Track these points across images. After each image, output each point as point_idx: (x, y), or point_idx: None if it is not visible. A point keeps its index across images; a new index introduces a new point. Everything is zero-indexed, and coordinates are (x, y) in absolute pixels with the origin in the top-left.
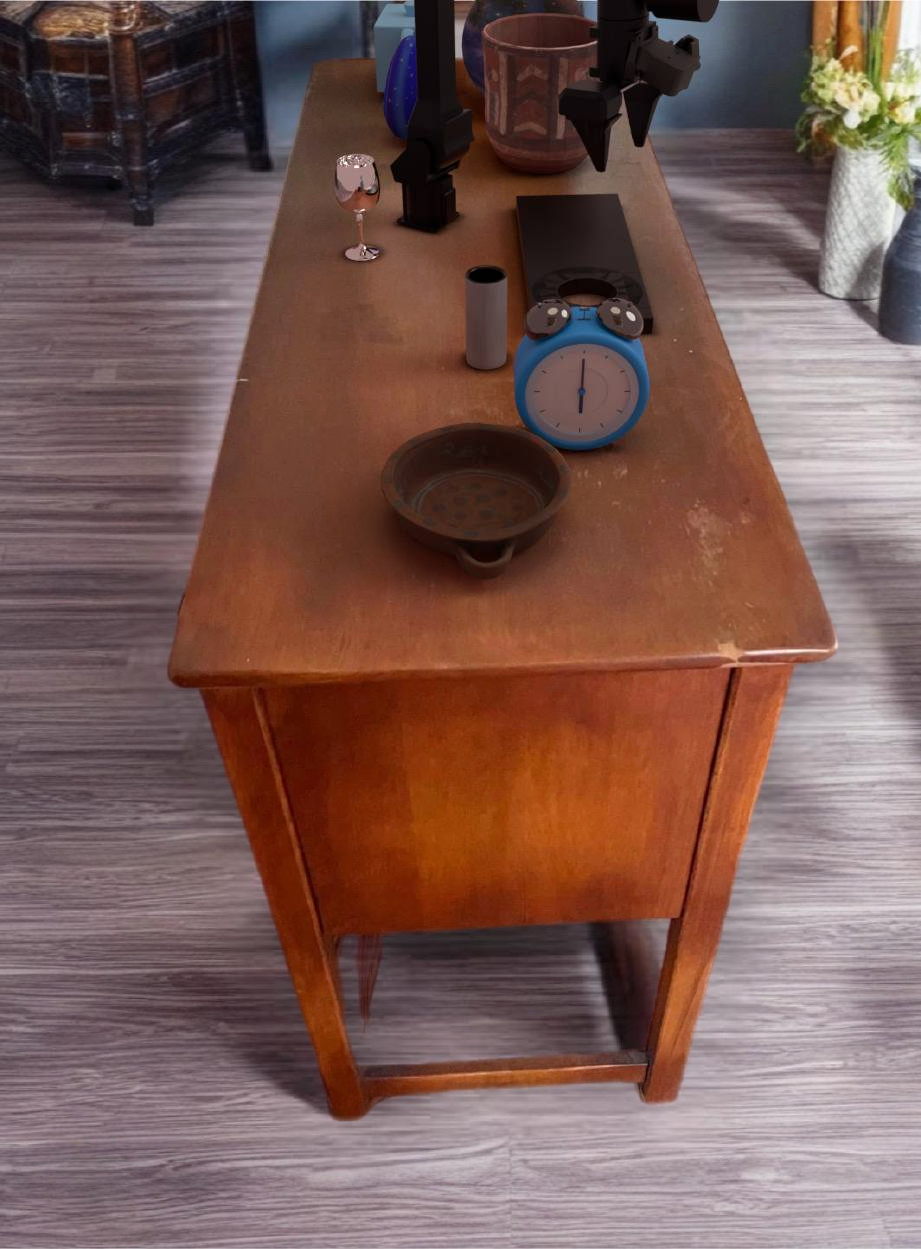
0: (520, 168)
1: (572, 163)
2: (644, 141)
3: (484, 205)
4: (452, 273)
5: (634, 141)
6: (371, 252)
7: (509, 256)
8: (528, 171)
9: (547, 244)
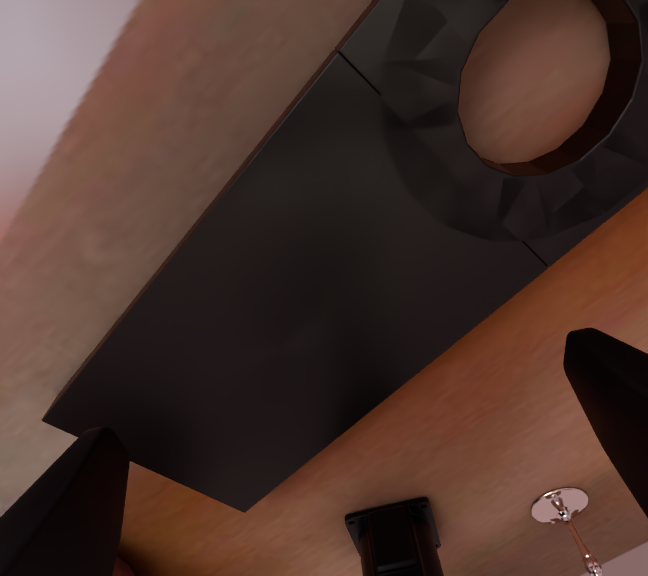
0: (132, 572)
1: None
2: (75, 451)
3: (277, 520)
4: (541, 388)
5: (123, 482)
6: (559, 500)
7: None
8: (121, 561)
9: (377, 343)
